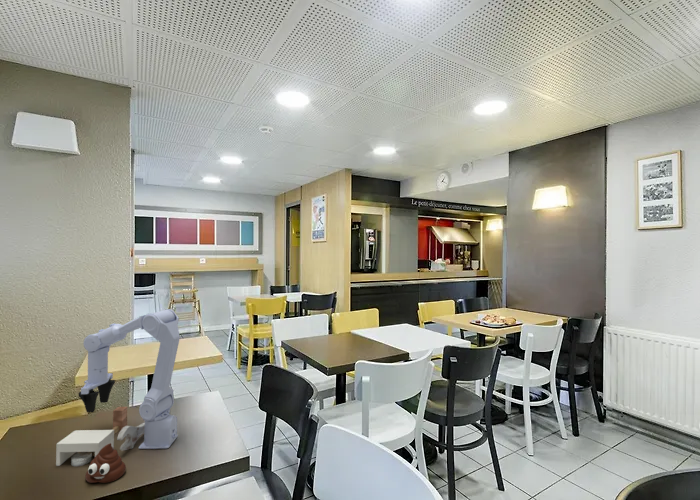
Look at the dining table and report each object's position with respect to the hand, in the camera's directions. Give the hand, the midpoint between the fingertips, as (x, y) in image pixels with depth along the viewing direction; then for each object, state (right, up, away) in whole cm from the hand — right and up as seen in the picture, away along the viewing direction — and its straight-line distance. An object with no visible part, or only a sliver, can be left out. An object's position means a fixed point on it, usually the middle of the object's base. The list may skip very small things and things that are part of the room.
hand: (97, 406), depth 125 cm
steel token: (+6, -10, -15) cm, 19 cm away
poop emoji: (+18, -11, -22) cm, 30 cm away
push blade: (+5, -10, -3) cm, 11 cm away
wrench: (+16, -11, +2) cm, 19 cm away
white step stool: (+6, -10, -13) cm, 17 cm away
